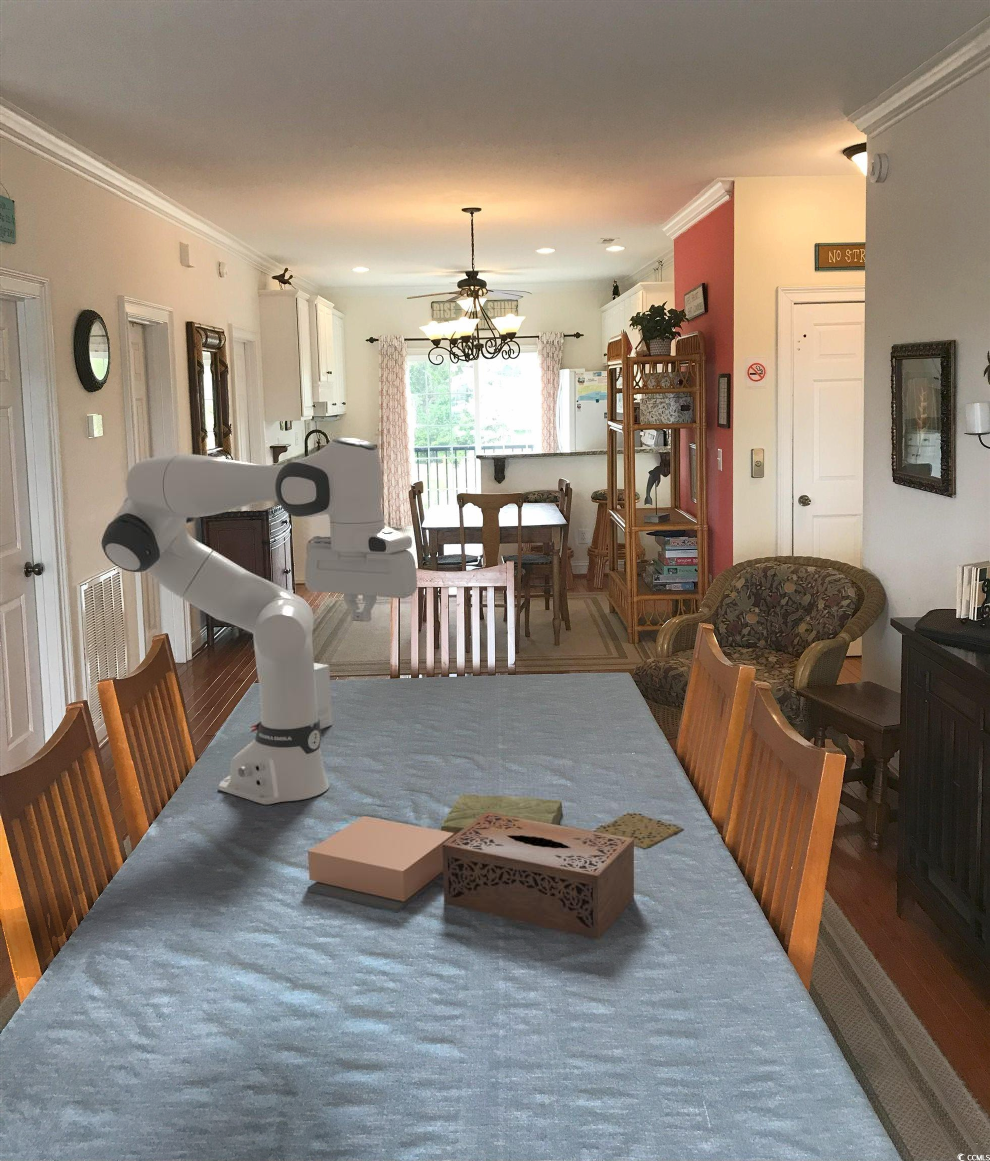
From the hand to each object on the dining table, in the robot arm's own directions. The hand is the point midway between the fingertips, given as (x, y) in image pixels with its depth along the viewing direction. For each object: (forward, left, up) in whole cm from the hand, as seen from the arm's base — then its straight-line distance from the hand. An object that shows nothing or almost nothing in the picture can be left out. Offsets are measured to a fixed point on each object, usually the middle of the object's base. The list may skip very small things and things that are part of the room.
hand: (361, 621), depth 180 cm
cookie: (+38, +29, -42) cm, 63 cm away
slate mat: (+7, -6, -41) cm, 42 cm away
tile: (-3, -6, -38) cm, 38 cm away
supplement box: (-55, +55, -41) cm, 88 cm away
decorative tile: (+15, +20, -42) cm, 49 cm away
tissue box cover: (+33, -3, -42) cm, 53 cm away
